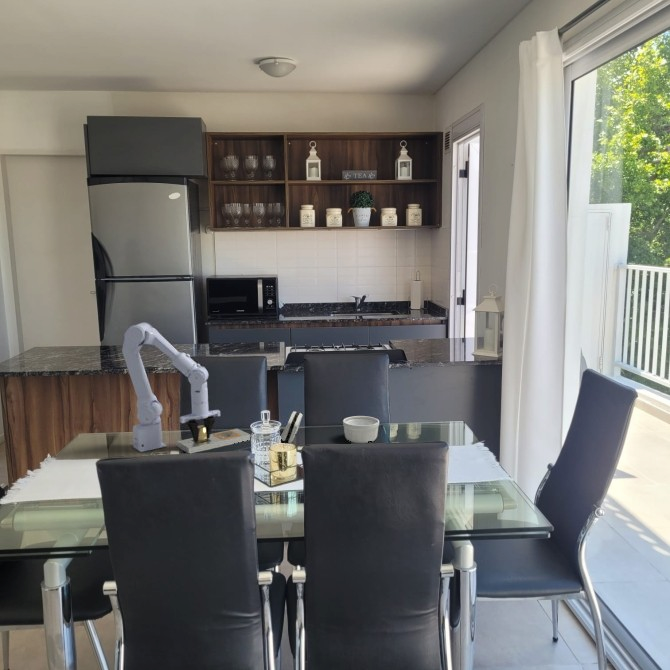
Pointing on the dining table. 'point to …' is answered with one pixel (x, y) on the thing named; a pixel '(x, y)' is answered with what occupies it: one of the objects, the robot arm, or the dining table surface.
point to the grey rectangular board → (214, 441)
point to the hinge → (291, 427)
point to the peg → (202, 434)
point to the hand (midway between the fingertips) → (201, 438)
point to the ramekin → (361, 429)
